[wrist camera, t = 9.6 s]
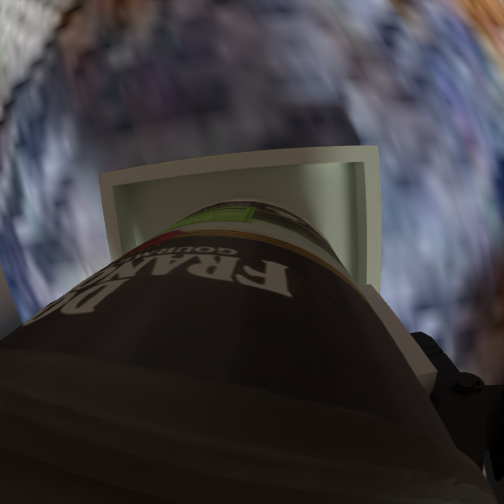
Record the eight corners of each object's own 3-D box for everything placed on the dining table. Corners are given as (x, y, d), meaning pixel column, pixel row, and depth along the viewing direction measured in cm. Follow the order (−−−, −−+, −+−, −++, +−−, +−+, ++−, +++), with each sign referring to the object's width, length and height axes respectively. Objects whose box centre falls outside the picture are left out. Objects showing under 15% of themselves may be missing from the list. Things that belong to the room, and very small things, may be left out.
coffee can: (117, 243, 16) (-114, 393, 2) (304, 165, 15) (574, 152, 1) (198, 396, 18) (134, 607, 5) (363, 346, 17) (456, 581, 3)
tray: (120, 172, 18) (98, 173, 15) (362, 148, 17) (377, 145, 14) (159, 375, 22) (148, 398, 19) (360, 367, 21) (370, 391, 18)
